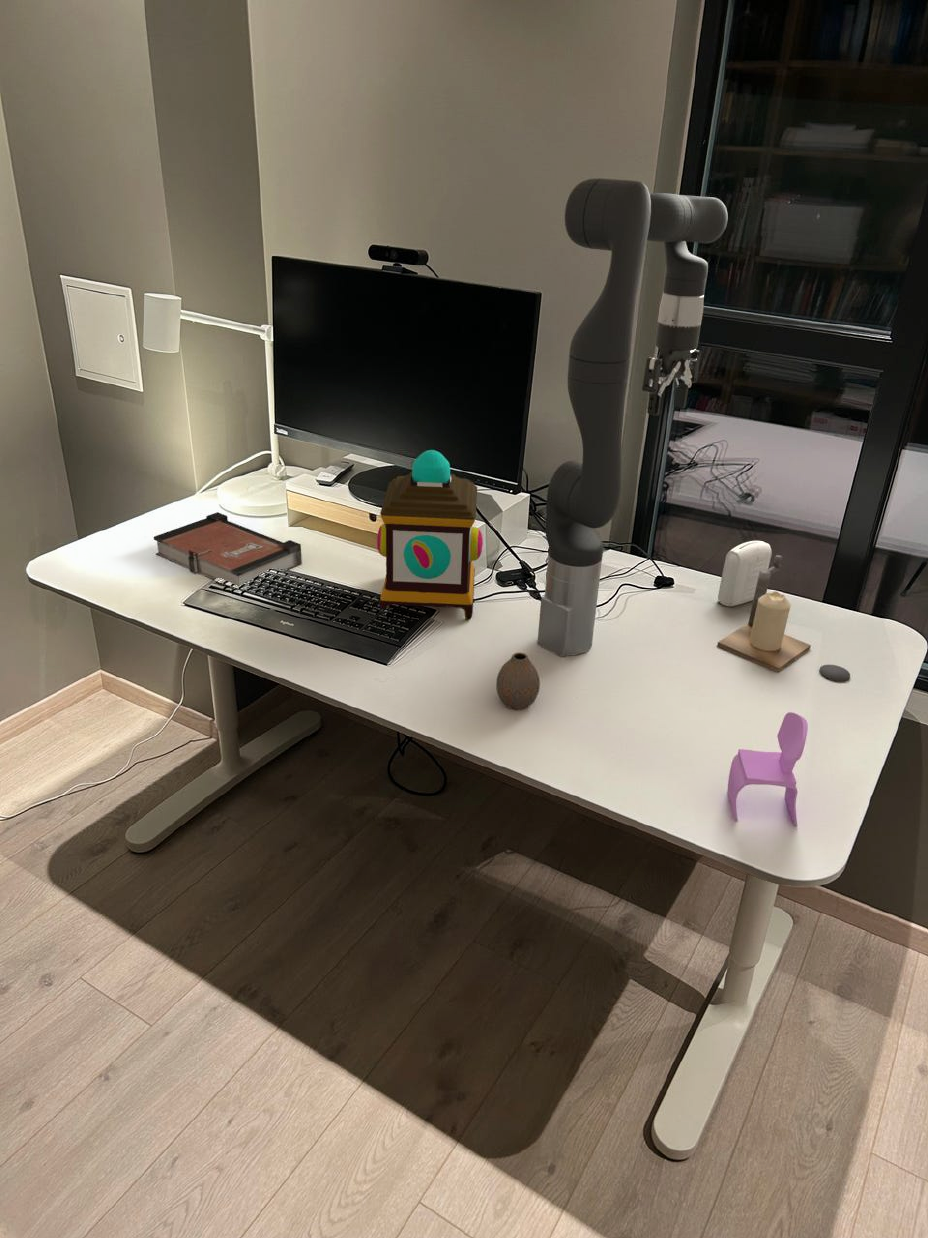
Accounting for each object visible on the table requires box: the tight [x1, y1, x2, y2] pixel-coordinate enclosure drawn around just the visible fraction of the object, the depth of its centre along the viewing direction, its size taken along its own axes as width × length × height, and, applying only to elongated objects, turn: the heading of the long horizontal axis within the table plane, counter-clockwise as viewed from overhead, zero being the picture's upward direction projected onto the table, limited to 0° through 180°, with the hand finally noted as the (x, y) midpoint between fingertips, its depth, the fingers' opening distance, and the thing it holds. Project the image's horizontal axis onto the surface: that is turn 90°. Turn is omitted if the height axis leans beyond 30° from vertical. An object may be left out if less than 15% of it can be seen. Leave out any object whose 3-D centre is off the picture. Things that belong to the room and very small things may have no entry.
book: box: [153, 512, 303, 586], centre depth 186 cm, size 26×18×5 cm
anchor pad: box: [818, 664, 851, 683], centre depth 156 cm, size 5×5×1 cm
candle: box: [750, 591, 791, 651], centre depth 160 cm, size 6×6×10 cm
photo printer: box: [717, 540, 772, 607], centre depth 177 cm, size 10×4×12 cm, turn 123°
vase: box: [495, 652, 541, 710], centre depth 142 cm, size 7×7×9 cm
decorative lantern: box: [376, 449, 484, 621], centre depth 168 cm, size 20×20×30 cm
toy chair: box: [727, 711, 809, 827], centre depth 120 cm, size 8×9×15 cm
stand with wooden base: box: [716, 554, 812, 673], centre depth 161 cm, size 16×12×14 cm
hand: (666, 410), depth 166 cm, fingers open, 8 cm apart
